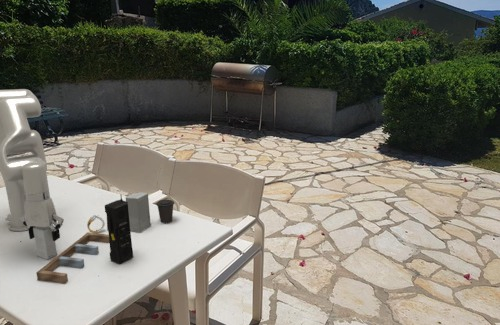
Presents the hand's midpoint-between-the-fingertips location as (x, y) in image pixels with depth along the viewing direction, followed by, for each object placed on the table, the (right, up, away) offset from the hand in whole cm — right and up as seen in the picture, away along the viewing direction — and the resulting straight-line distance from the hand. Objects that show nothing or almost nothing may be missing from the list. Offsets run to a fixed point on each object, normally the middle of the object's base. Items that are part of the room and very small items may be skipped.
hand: (45, 238), depth 140 cm
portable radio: (+28, -8, +1) cm, 30 cm away
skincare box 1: (-1, -7, +3) cm, 8 cm away
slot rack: (+12, -8, +1) cm, 15 cm away
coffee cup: (+38, +1, +33) cm, 51 cm away
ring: (+11, -2, +21) cm, 24 cm away
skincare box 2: (+28, -1, +26) cm, 38 cm away
